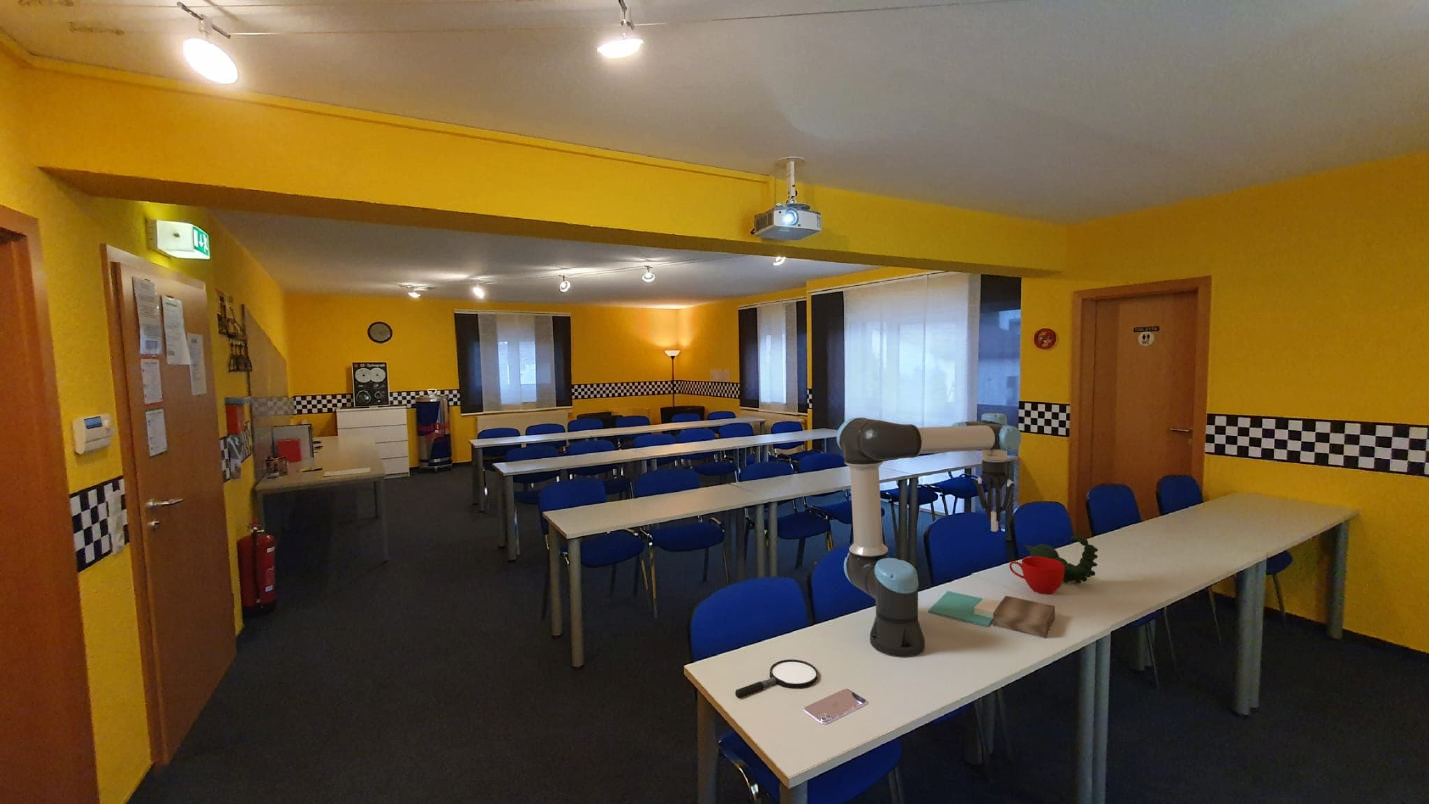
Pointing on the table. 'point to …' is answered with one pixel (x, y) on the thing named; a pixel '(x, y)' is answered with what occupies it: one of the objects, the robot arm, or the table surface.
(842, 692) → the mobile phone
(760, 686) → the magnifying glass
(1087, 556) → the toy figurine
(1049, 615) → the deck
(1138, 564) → the table surface
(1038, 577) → the ceramic cup
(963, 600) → the mat
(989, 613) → the tile
